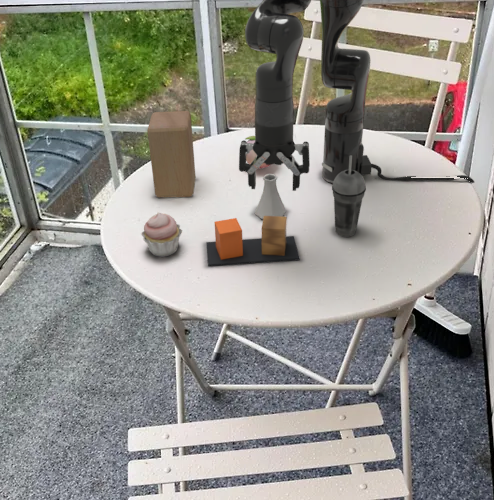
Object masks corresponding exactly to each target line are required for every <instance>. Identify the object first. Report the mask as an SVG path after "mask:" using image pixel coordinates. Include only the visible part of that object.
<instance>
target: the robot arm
mask: <svg viewBox="0 0 494 500" xmlns="http://www.w3.org/2000/svg"><path fill="white" fill-rule="evenodd" d="M311 2H312V0H262V1H261V2H260V3H259V4H258V5H257V7H256V8H255V9H254V10H253V11H252V13H251V14H250V16H249V18H248V20H247V22H246V25H245V29H244V39H245V42H246V44H247V46H248V47H249V48H250V49H251V50H254V51H256V52H261V53H268V54H273V55H275V56H276V60H274V61H267V62H263V63H262V64H260V65H259V66H258V67H257V68H256V69H255V102H254V136H255V142H254V143H247V140H245V139H244V140H242V141H241V142H240V145H239V153H238V155H239V157H238V171H239V172H245V173H247V186H248V187H249V188H250V187H251V188H250V189H251V190H256V186H257V177H256V176H257V172H256V171H257V170H258V169H260V168H259V167H260V166H261V165H262V163H265V164H266V165H270V166H272V165H276V166H282V165H283V164H284V165H285V167H286V168H287V169H288V170H290V171H291V172H292V191H294V192H296V191H297V189H299V188H300V184H301V175H302V174H308V173H310V143H309V142H308V141H303V142H302V143H295V141H294V117H295V116H294V115H295V109H294V108H295V107H294V96H293V95H294V94H293V93H294V92H293V91H294V89H293V87H294V72H295V69H296V64H297V61H298V57H299V54H300V51H301V47H302V43H303V42H304V35H305V31H304V25H303V22H302V21H301V20H300V18H298V17H297V16H296V15H293V14H295V13H301V12H303V11H305V10H306V9H308V7H309V5H310V4H311ZM363 4H364V0H319V5H320V20H321V21H320V23H321V53H320V54H321V55H320V57H321V58H320V77H321V78H320V79H321V82H322V85H323V86H324V87H326V88H328V89H335V90H346V91H351V92H350V93H348V94H345V95H341V96H338V97H334V98H332V99H330V100H329V101H328V102H327V103H326V106H325V118H324V135H323V136H324V138H323V139H324V140H323V154H322V156H323V158H322V163H321V167H322V171H321V176H322V179H323V180H324V181H326V182H327V183H330V184H333V182H334V179H335V178H336V176H337V175H338V174H339V173H340V172H342V171H344V170H349V158H350V155H351V156H352V165H351V170H355V171H357V172H359V173H360V174H361V175H362V176H370V175H372V169H374V170H376V171H377V173H376V174H377V177H378V178H379V179H381V180H384V181H392V182H393V181H394V182H402V181H457V180H458V179H454V178H411V177H416V176H417V175H407V177H406V176H405V175H404V176H397V177H388V176H385V175H384V174H382V172H383V171H382V168H381V167H380V166H379V165H377V164H374V163H371V161H370V159H369V158H370V157H368V155H367V154H364V150H365V149H364V148H365V146H364V145H363V132H364V121H365V111H366V102H367V101H366V100H367V93H368V91H367V90H368V84H369V78H370V72H371V55H370V53H369V51H368V50H365V49H355V48H342V47H341V48H340V47H339V45H338V44H339V40H340V38H341V36H342V35H343V33H344V31H345V30H346V28H347V27H349V25H350V23H351V22H352V21H353V20H354V19H355V17H356V16H357V14H358V13H359V11H360V9H361V8H362V6H363ZM250 150H253V151H254V152H255V153H256V155H257V156H256V157H255V159H254V160H253V161H252V162H251V164H249V163H248V162H247V161H246V154H249V153H250ZM295 151H297V152H298V155H299V156H302V157H301V158H302V164H300V163H298V161H296V158H295V156H294V155H293V154H294V153H295ZM456 176H457V177H460V178H464V179H463V180H465V181H467V182H469V181H470V182H469V183H470V184H475V180H474V179H473V178H472V177H471V176H469V175H465V174H459V175H456ZM465 178H466V179H465ZM467 178H468V179H467Z"/></svg>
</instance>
